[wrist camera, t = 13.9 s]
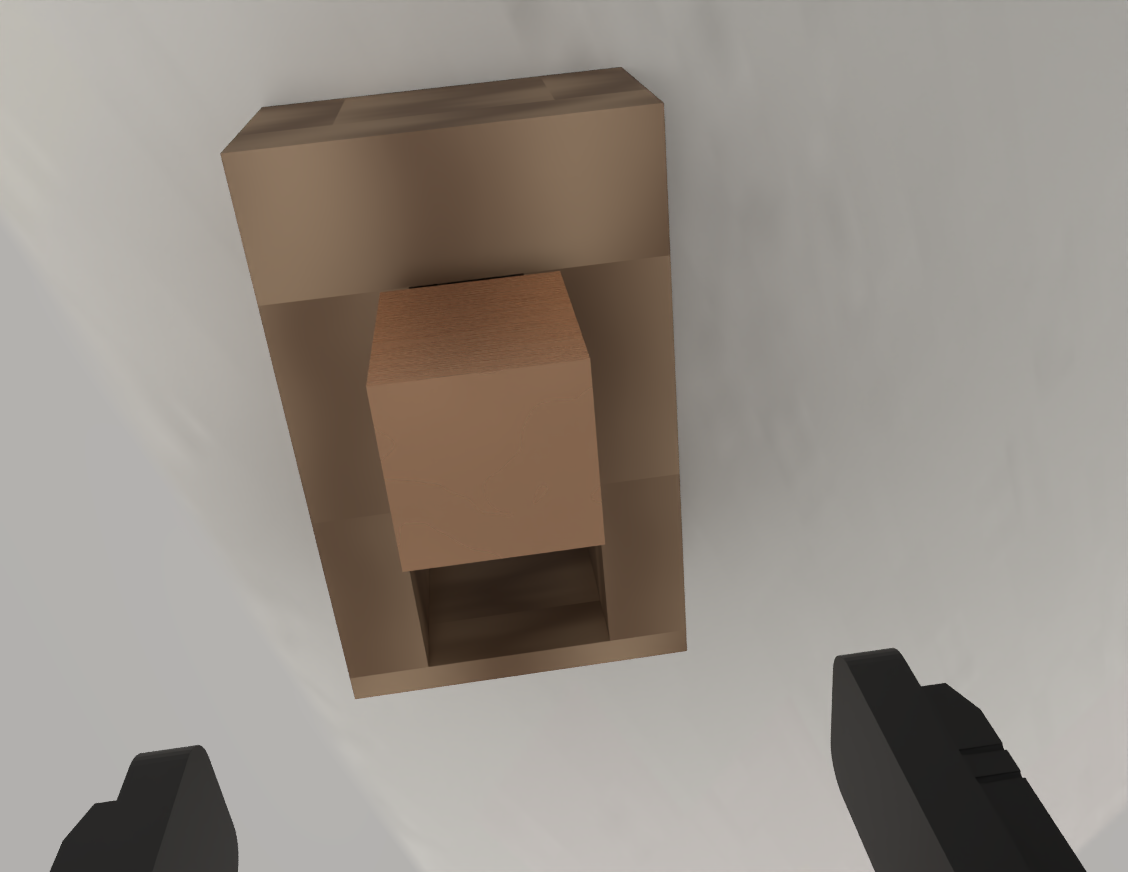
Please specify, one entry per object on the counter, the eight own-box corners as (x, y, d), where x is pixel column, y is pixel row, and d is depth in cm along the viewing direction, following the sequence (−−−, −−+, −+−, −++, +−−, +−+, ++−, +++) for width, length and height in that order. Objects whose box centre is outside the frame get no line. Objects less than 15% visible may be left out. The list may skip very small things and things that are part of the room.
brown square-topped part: (530, 184, 29) (590, 358, 18) (543, 313, 31) (605, 544, 20) (393, 200, 29) (366, 386, 18) (415, 328, 31) (402, 572, 20)
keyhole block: (621, 67, 28) (663, 102, 23) (649, 541, 36) (686, 651, 30) (261, 107, 28) (220, 153, 22) (367, 580, 35) (355, 699, 30)
